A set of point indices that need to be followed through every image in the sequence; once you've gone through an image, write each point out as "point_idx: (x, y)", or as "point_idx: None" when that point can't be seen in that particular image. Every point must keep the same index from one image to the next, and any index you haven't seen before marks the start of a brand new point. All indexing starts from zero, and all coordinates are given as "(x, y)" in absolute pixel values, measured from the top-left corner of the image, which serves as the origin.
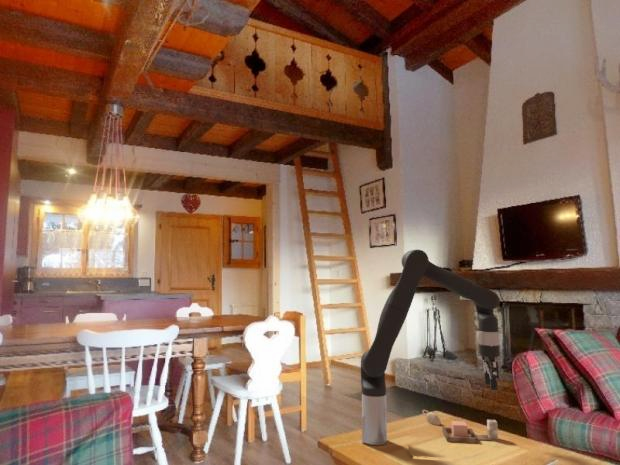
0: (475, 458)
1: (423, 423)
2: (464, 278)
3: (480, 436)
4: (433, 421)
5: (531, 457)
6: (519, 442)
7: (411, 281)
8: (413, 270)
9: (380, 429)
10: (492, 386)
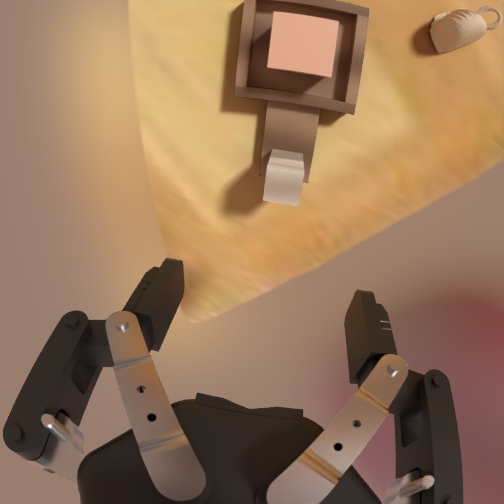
0: (138, 62)
1: None
2: None
3: (297, 125)
4: (443, 17)
5: (169, 219)
6: (281, 239)
7: None
8: None
9: None
10: (144, 276)
